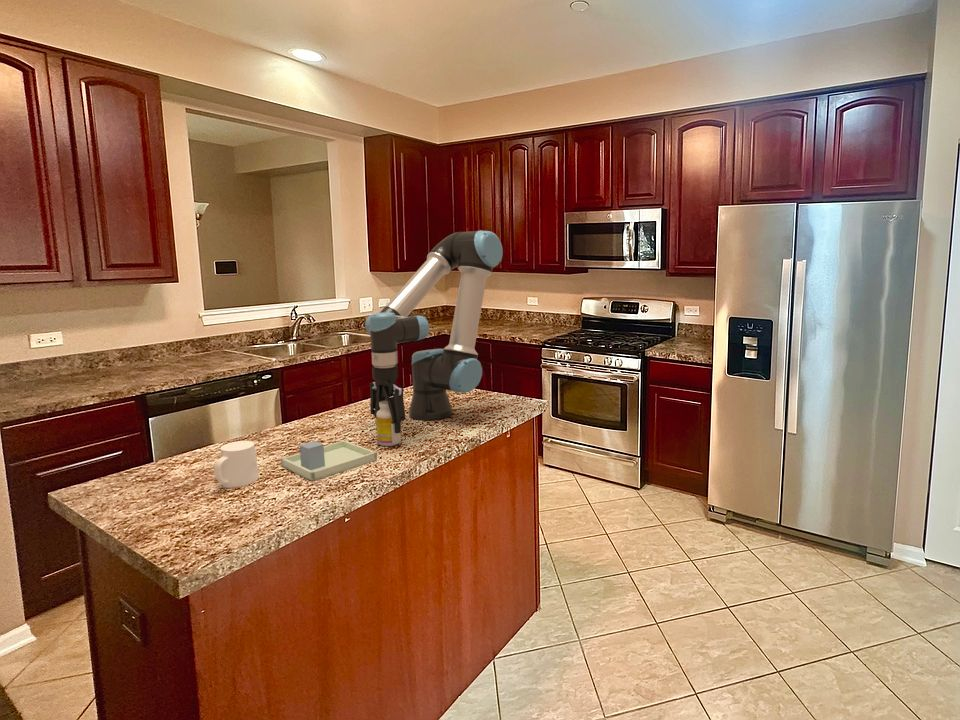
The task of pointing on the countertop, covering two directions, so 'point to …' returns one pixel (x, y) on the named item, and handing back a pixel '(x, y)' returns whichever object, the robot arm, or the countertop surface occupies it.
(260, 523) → the countertop surface
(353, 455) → the tray
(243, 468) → the mug
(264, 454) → the countertop surface
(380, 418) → the supplement bottle
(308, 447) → the grey rectangular block
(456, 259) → the robot arm
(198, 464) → the countertop surface
